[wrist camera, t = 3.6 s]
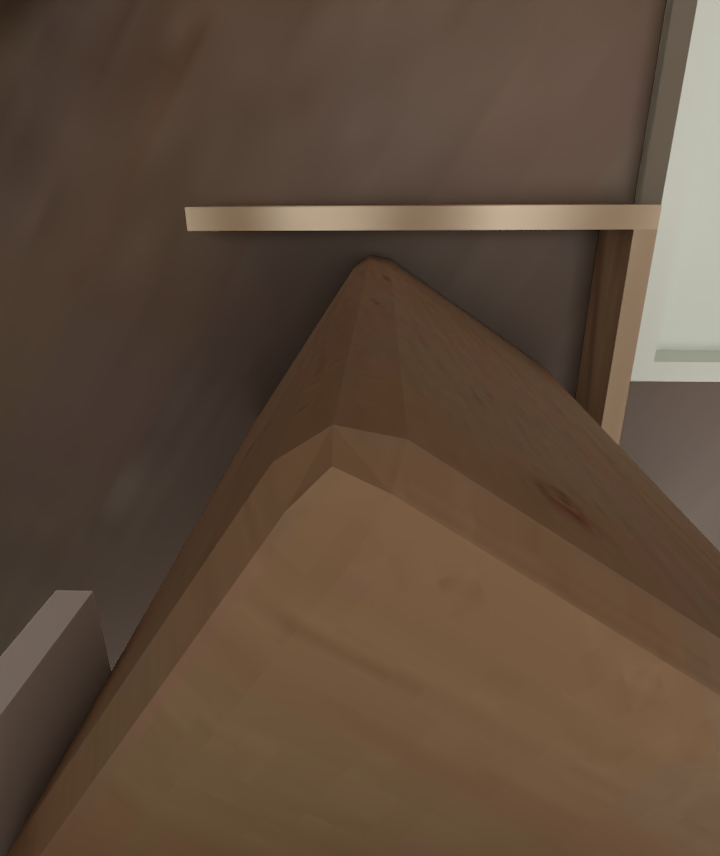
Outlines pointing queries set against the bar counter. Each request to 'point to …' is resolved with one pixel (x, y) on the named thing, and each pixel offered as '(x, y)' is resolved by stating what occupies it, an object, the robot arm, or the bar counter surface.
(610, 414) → the bay
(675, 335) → the tray
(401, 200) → the bar counter surface
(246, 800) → the wooden block
